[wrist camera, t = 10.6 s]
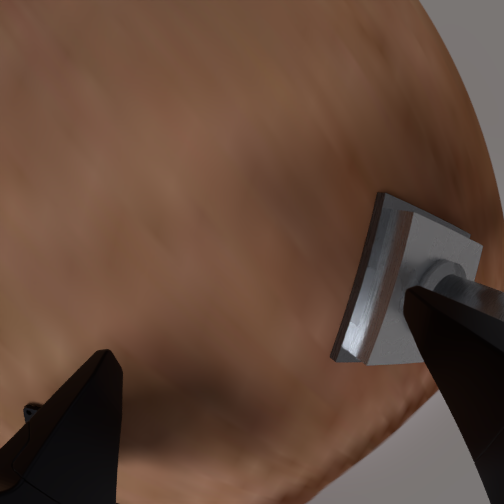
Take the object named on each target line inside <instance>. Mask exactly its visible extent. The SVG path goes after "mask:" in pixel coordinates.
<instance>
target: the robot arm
mask: <svg viewBox="0 0 504 504" xmlns="http://www.w3.org/2000/svg"><path fill="white" fill-rule="evenodd" d="M403 315H404V318H405V320H406V323H407V325H408V327H409V329H410V331H411V334H412V336H413V338H414V341H415V343H416V345H417V348H418V350H419V352H420V354H421V357H422V358H423V360H424V362H425V364H426V366H427V368H428V369H429V371H430V373H431V375H432V377H433V379H434V381H435V382H436V384H437V386H438V388H439V390H440V392H441V394H442V396H443V398H444V400H445V401H446V403H447V405H448V407H449V409H450V411H451V413H452V415H453V417H454V419H455V421H456V423H457V426H458V427H459V430H460V432H461V434H462V436H463V438H464V441H465V443H466V445H467V447H468V449H469V451H470V453H471V456H472V458H473V461H474V462H475V466H476V468H477V470H478V473H479V475H480V478H481V480H482V482H483V485H484V487H485V490H486V493H487V495H488V498H489V500H490V503H491V504H504V321H502V320H500V319H497V318H495V317H493V316H490V315H488V314H486V313H483V312H481V311H479V310H476V309H474V308H472V307H469V306H467V305H465V304H462V303H460V302H458V301H455V300H453V299H450V298H448V297H446V296H443V295H441V294H438V293H436V292H434V291H431V290H429V289H426V288H424V287H421V286H418V285H417V286H413V287H410V288H407V289H406V291H405V297H404V305H403ZM122 387H123V371H122V368H121V366H120V364H119V363H118V361H117V360H116V358H115V356H114V355H113V353H112V351H111V350H109V349H104V350H98V351H96V352H95V353H94V354H93V355H92V356H91V357H90V358H89V359H88V360H87V361H86V362H85V363H84V364H83V365H82V366H81V367H80V368H79V369H78V370H77V371H76V372H75V373H74V374H73V375H72V376H71V377H70V378H69V379H68V380H67V381H66V382H65V383H64V384H63V385H62V386H61V387H60V388H59V389H58V390H57V391H56V392H55V393H54V394H53V395H52V397H51V398H50V399H49V400H48V401H47V402H46V403H45V404H44V405H43V406H42V407H41V408H38V407H34V406H31V405H26V406H25V407H24V409H23V412H24V417H25V422H26V424H25V425H24V426H23V427H22V428H21V429H20V430H19V431H18V432H17V433H16V434H15V435H14V436H13V437H12V438H11V439H10V440H9V441H8V442H7V443H6V444H5V445H4V446H3V447H2V448H0V504H118V503H116V486H117V468H118V454H119V442H120V432H121V422H122ZM28 410H29V411H30V412H29V411H28Z"/></svg>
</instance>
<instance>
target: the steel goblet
mask: <svg viewBox="0 0 504 504" xmlns="http://www.w3.org/2000/svg"><path fill="white" fill-rule="evenodd" d="M417 285H418V286H421V287H424V288H426V289H429V290H431V291H434V292H436V293H438V294H441V295H443V296H446V297H448V298H450V299H453V300H455V301H458V302H460V303H462V304H465V305H467V306H469V307H472V308H474V309H476V310H479V311H481V312H483V313H486V314H488V315H490V316H493V317H495V318H497V319H500V320H502V321H504V292H502V291H499V290H496V289H493V288H491V287H488V286H485V285H482V284H479V283H477V282H474V281H471V280H468V279H467V277H466V273H465V271H464V269H463V267H462V266H461V265H460V264H458V263H455V262H452V261H449V260H440V261H437V262H436V263H434V264H433V265H431V266H430V267H429V268H428V269H427V270H426V272H425V273H424V274H423V276H422V277H421V279H420V281H419V282H418V284H417Z"/></svg>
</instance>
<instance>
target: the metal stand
mask: <svg viewBox="0 0 504 504" xmlns="http://www.w3.org/2000/svg"><path fill="white" fill-rule="evenodd" d="M470 235H471V234H469V233H467V232H465V231H463V230H461V229H460V228H458V227H456V226H454V225H452V224H450V223H448V222H446V221H444V220H442V219H440V218H438V217H436V216H434V215H432V214H430V213H428V212H426V211H424V210H422V209H420V208H417V207H415V206H413V205H411V204H409V203H407V202H405V201H402V200H400V199H398V198H396V197H394V196H391V195H389V194H387V193H379V192H377V196H376V201H375V205H374V210H373V214H372V218H371V222H370V226H369V230H368V234H367V238H366V242H365V246H364V249H363V253H362V257H361V260H360V264H359V267H358V271H357V274H356V278H355V281H354V285H353V288H352V291H351V294H350V298H349V301H348V304H347V307H346V310H345V313H344V316H343V319H342V323H341V325H340V328H339V331H338V334H337V337H336V340H335V343H334V346H333V349H332V351H331V354H330V358H331V359H333V360H334V361H335V362H363V363H364V364H365V365H389V364H405V363H418V362H424V360H423V358H422V357H421V354H420V352H419V350H418V348H417V345H416V343H415V341H414V338H413V336H412V334H411V331H410V329H409V327H408V325H407V323H406V320H405V318H404V315H403V305H404V297H405V291H406V289H407V288H410V287H413V286H417V284H418V282H419V281H420V279H421V277H422V276H423V274H424V273H425V272H426V270H427V269H428V268H429V267H430V266H431V265H433V264H434V263H436V262H437V261H440V260H449V261H452V262H455V263H458V264H460V265H461V266H462V267H463V269H464V271H465V273H466V277H467V279H468V280H471V281H474V280H475V276H476V272H477V268H478V265H479V261H480V257H481V252H482V248H483V246H482V245H480V244H479V243H477V242H475V241H473V240H471V239H470Z"/></svg>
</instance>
